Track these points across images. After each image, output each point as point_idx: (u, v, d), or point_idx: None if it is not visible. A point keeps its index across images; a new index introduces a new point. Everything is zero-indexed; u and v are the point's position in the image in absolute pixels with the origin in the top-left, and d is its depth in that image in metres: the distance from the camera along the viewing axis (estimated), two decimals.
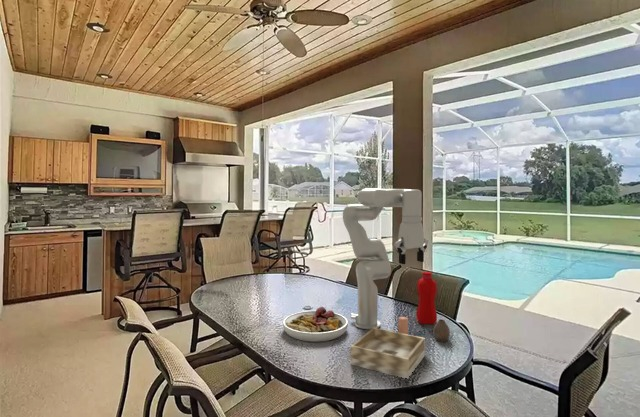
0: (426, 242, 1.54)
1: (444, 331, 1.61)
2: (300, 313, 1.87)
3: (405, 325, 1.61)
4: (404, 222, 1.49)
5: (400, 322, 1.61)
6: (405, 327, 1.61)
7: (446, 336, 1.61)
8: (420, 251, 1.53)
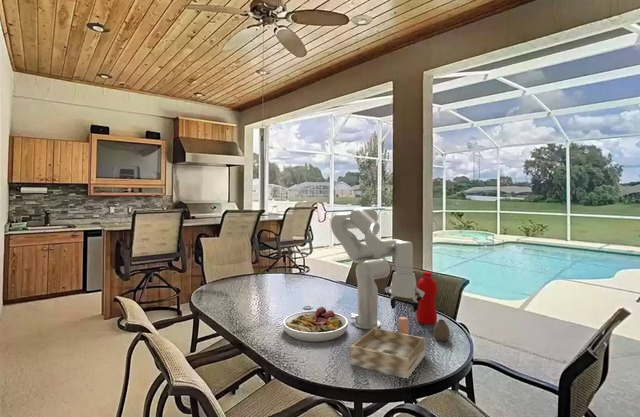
0: None
1: (444, 331, 1.61)
2: (300, 313, 1.87)
3: (405, 325, 1.60)
4: (412, 272, 1.59)
5: (400, 322, 1.61)
6: (405, 327, 1.61)
7: (446, 336, 1.61)
8: (394, 298, 1.64)
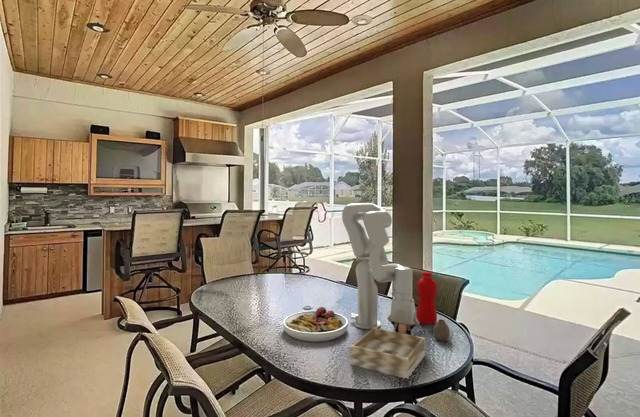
0: None
1: (443, 331, 1.61)
2: (300, 313, 1.87)
3: (405, 325, 1.61)
4: (411, 298, 1.60)
5: None
6: (405, 327, 1.61)
7: (446, 336, 1.61)
8: None
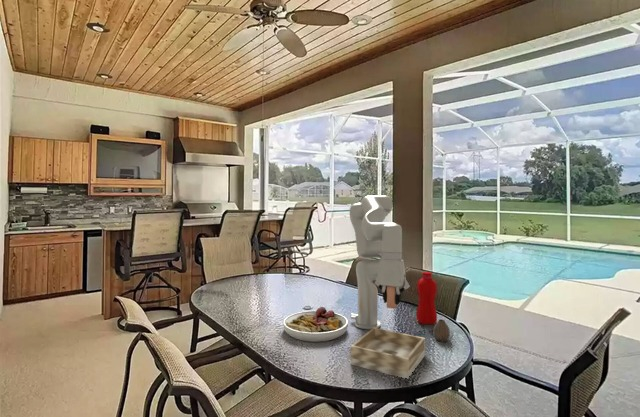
0: None
1: (443, 331, 1.61)
2: (300, 313, 1.87)
3: (394, 288, 1.44)
4: (401, 258, 1.44)
5: None
6: (394, 291, 1.44)
7: (446, 336, 1.61)
8: None
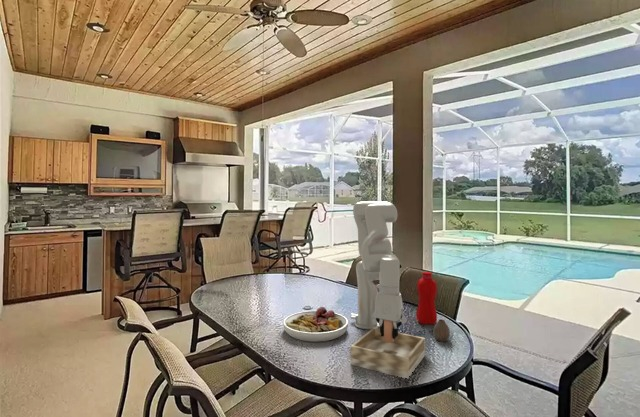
0: None
1: (443, 331, 1.61)
2: (301, 313, 1.87)
3: (391, 322, 1.43)
4: (398, 292, 1.42)
5: None
6: (391, 325, 1.43)
7: (446, 336, 1.61)
8: None
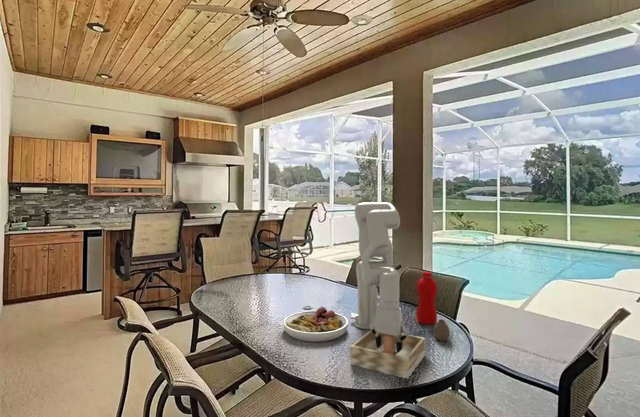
0: None
1: (444, 331, 1.61)
2: (301, 313, 1.87)
3: (391, 342, 1.43)
4: (398, 307, 1.42)
5: (385, 338, 1.43)
6: (391, 344, 1.43)
7: (446, 336, 1.61)
8: (380, 335, 1.47)
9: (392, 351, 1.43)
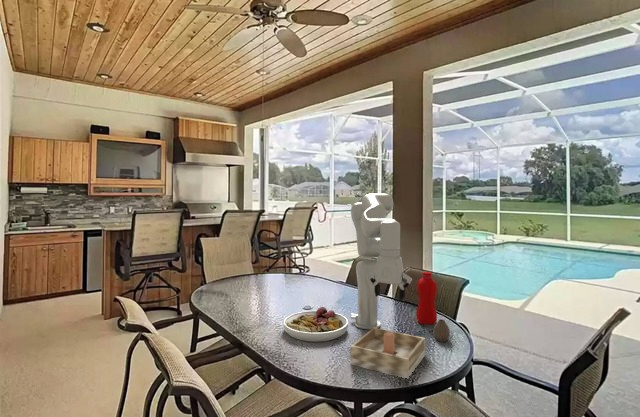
0: None
1: (444, 331, 1.61)
2: (301, 313, 1.87)
3: (391, 342, 1.43)
4: (399, 256, 1.41)
5: (385, 338, 1.43)
6: (391, 344, 1.43)
7: (446, 336, 1.61)
8: (378, 284, 1.47)
9: (392, 351, 1.43)
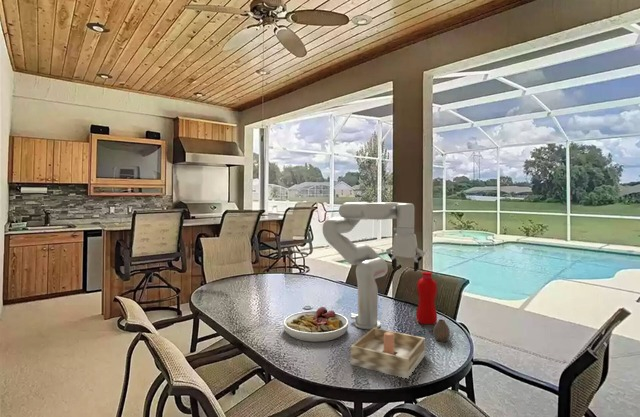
0: None
1: (443, 331, 1.61)
2: (301, 313, 1.87)
3: (391, 342, 1.43)
4: (413, 233, 1.63)
5: (385, 338, 1.43)
6: (391, 344, 1.43)
7: (446, 336, 1.61)
8: (395, 259, 1.68)
9: (392, 351, 1.43)
